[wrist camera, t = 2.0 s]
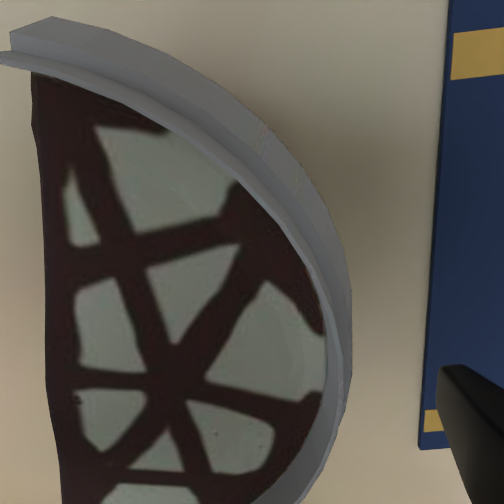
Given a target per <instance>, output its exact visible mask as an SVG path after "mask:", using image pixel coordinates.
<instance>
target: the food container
mask: <svg viewBox="0 0 504 504" xmlns="http://www.w3.org/2000/svg"><path fill="white" fill-rule="evenodd" d="M9 33H10V42H11V49H12V51H3V52H0V64H2V65H6V66H11V67H15V68H19V69H24V70H28V71H31V94H32V120H31V126H32V131H33V135H34V139H35V143H36V147H37V155H38V164H39V172H40V183H41V201H42V218H43V236H44V265H45V381H46V392H47V398H48V404H49V411H50V417H51V422H52V427H53V431H54V436H55V441H56V447H57V453H58V460H59V467H60V481H61V494H62V504H299V503H300V502H301V501H302V500H303V499H304V498H305V496H306V495H307V493H308V492H309V490H310V489H311V487H312V486H313V484H314V482H315V481H316V479H317V478H318V476H319V475H320V473H321V472H322V470H323V468H324V466H325V463H326V461H327V458H328V456H329V453H330V451H331V449H332V446H333V444H334V441H335V439H336V436H337V431H338V427H339V425H340V422H341V420H342V417H343V415H344V412H345V408H346V403H347V398H348V393H349V388H350V383H351V378H352V289H351V284H350V279H349V274H348V269H347V264H346V259H345V254H344V249H343V247H342V244H341V242H340V239H339V237H338V234H337V232H336V229H335V227H334V224H333V222H332V219H331V217H330V214H329V212H328V209H327V206H326V205H325V203H324V202H323V200H322V198H321V197H320V195H319V193H318V192H317V190H316V189H315V187H314V185H313V184H312V182H311V180H310V179H309V177H308V175H307V174H306V172H305V171H304V169H303V167H302V166H301V164H300V163H299V162H298V161H297V159H296V158H295V157H294V156H293V155H292V154H291V152H290V151H289V150H288V149H287V148H286V147H285V146H284V144H283V143H282V142H281V141H280V140H279V139H278V137H277V136H276V135H275V134H274V133H273V132H272V131H271V129H270V128H269V127H268V126H267V125H266V124H265V123H264V122H263V121H262V120H261V119H260V118H258V117H257V116H256V115H255V114H254V113H252V112H251V111H250V110H249V109H248V108H246V107H245V106H244V105H243V104H242V103H240V102H239V101H238V100H237V99H236V98H235V97H233V96H232V95H231V94H230V93H229V92H227V91H226V90H225V89H224V88H223V87H221V86H220V85H219V84H217V83H215V82H214V81H212V80H210V79H209V78H207V77H205V76H204V75H202V74H200V73H199V72H197V71H195V70H194V69H192V68H190V67H189V66H187V65H185V64H184V63H182V62H180V61H179V60H177V59H175V58H174V57H172V56H170V55H169V54H167V53H165V52H162V51H160V50H157V49H155V48H152V47H150V46H147V45H145V44H142V43H140V42H138V41H135V40H133V39H130V38H128V37H125V36H123V35H120V34H118V33H115V32H113V31H110V30H108V29H104V28H99V27H95V26H91V25H87V24H82V23H78V22H74V21H70V20H65V19H61V18H57V17H53V16H51V17H49V18H46V19H43V20H40V21H38V22H35V23H32V24H29V25H27V26H24V27H21V28H18V29H16V30H13V31H10V32H9Z"/></svg>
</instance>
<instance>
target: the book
mask: <svg viewBox="0 0 504 504" xmlns="http://www.w3.org/2000/svg"><path fill="white" fill-rule="evenodd" d="M452 364H463V365H466V366H468V367H469V368H471V369H472V370H474V371H476V372H477V373H479V374H480V375H482V376H484V377H485V378H487V379H488V380H490V381H492V382H493V383H495V384H496V385H498V386H500V387H501V388H503V389H504V0H449V14H448V29H447V43H446V57H445V71H444V86H443V100H442V114H441V128H440V142H439V157H438V171H437V185H436V199H435V214H434V228H433V242H432V256H431V271H430V285H429V299H428V313H427V327H426V342H425V356H424V370H423V384H422V399H421V413H420V427H419V441H418V447H419V449H420V450H430V449H442V448H450V445H449V442H448V439H447V437H446V434H445V431H444V428H443V426H442V423H441V420H440V417H439V415H438V411H437V407H436V390H437V378H438V371H439V368H440V367H441V366H443V365H452Z"/></svg>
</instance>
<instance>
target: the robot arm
mask: <svg viewBox="0 0 504 504" xmlns="http://www.w3.org/2000/svg"><path fill="white" fill-rule="evenodd" d="M436 407H437V411H438V415H439V417H440V420H441V423H442V426H443V428H444V431H445V434H446V437H447V439H448V442H449V445H450V448H451V450H452V453H453V456H454V459H455V461H456V464H457V467H458V470H459V472H460V475H461V478H462V481H463V483H464V486H465V488H466V491H467V494H468V496H469V498H470V500H471V502H472V504H504V389H503V388H501V387H500V386H498V385H496V384H495V383H493V382H492V381H490V380H488V379H487V378H485V377H484V376H482V375H480V374H479V373H477V372H476V371H474V370H472V369H471V368H469V367H468V366H466V365H463V364H452V365H443V366H441V367H440V368H439V371H438V378H437V390H436Z"/></svg>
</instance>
